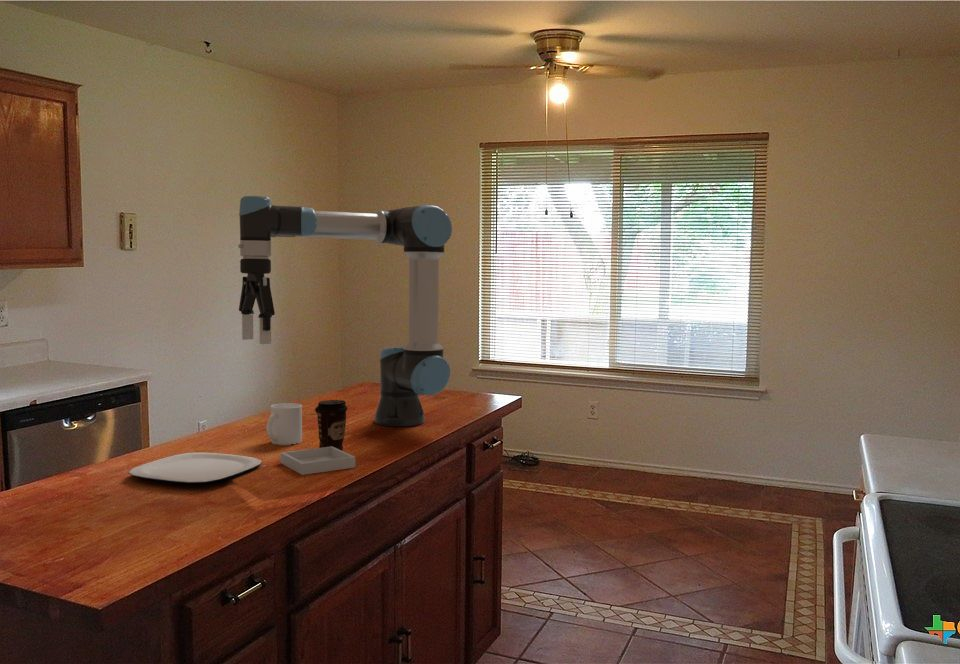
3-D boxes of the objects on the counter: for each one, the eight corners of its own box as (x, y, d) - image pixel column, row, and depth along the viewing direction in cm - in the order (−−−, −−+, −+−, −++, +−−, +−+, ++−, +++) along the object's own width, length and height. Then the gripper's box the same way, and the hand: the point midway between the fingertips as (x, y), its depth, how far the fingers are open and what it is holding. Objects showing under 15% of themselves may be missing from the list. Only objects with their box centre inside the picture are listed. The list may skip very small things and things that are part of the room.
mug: (279, 450, 216) (279, 411, 216) (255, 446, 220) (254, 408, 219) (308, 441, 227) (308, 404, 226) (284, 438, 231) (284, 402, 230)
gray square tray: (331, 456, 210) (331, 446, 210) (355, 467, 199) (355, 456, 199) (280, 463, 202) (280, 452, 202) (302, 474, 191) (302, 463, 191)
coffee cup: (354, 448, 219) (354, 400, 218) (338, 455, 211) (338, 405, 210) (325, 445, 222) (325, 398, 221) (309, 452, 214) (308, 403, 213)
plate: (206, 491, 178) (205, 483, 178) (114, 479, 187) (114, 472, 186) (274, 465, 202) (273, 458, 201) (189, 456, 210) (189, 449, 210)
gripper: (225, 257, 216) (227, 338, 218) (257, 257, 196) (258, 346, 197) (254, 258, 221) (254, 337, 222) (287, 258, 200) (288, 345, 202)
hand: (256, 341), depth 210 cm, fingers open, 13 cm apart
